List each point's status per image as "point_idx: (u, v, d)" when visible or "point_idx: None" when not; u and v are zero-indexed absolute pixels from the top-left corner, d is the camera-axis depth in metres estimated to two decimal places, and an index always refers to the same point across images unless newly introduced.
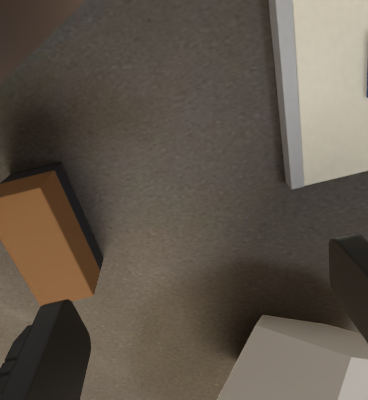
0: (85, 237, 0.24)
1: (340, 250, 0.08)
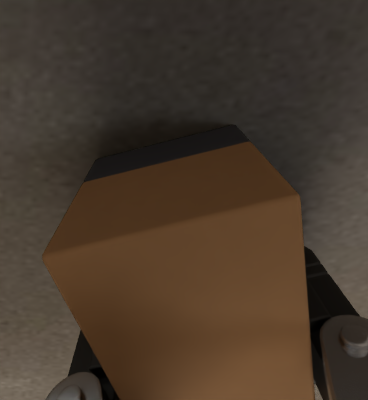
0: None
1: None
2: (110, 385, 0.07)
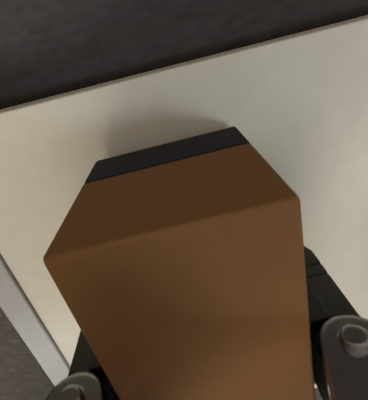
0: None
1: None
2: (110, 385, 0.07)
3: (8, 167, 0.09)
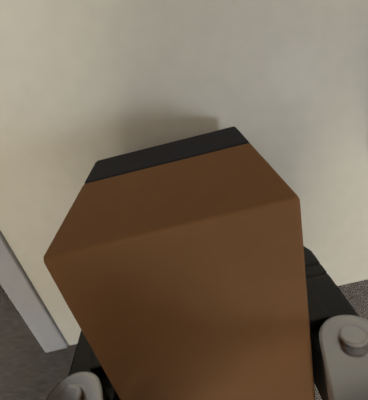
0: None
1: None
2: (111, 385, 0.07)
3: None
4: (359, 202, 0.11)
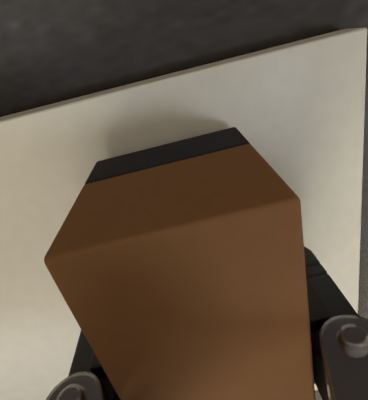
0: None
1: None
2: (110, 385, 0.07)
3: None
4: None
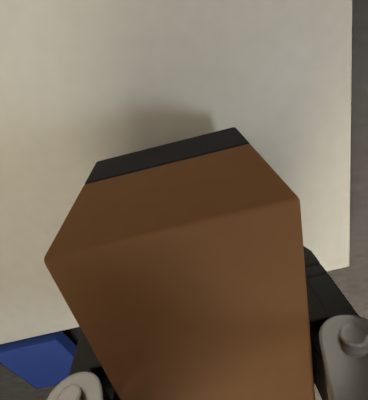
0: None
1: None
2: (111, 385, 0.07)
3: None
4: None
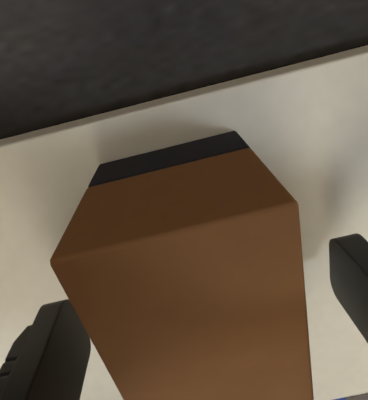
0: None
1: (340, 250, 0.08)
2: None
3: None
4: None
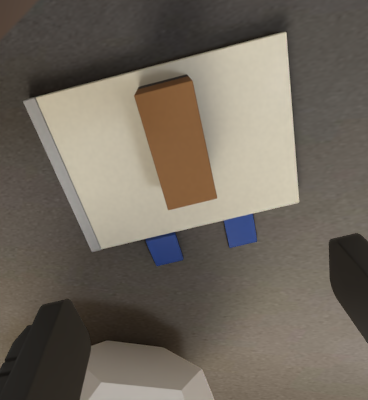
0: None
1: (340, 250, 0.08)
2: None
3: (62, 110, 0.25)
4: None
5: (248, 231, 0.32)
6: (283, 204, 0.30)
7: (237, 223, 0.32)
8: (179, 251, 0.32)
